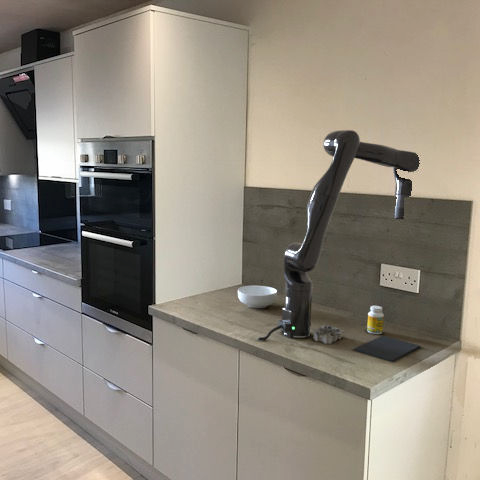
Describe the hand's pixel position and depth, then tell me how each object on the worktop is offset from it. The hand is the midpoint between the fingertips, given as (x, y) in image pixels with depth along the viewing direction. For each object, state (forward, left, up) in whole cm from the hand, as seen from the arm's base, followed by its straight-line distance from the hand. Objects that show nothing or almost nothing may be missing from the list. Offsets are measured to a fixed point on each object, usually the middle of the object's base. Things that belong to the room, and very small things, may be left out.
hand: (400, 248), depth 201 cm
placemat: (-24, -22, -29) cm, 44 cm away
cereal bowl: (-40, +37, -30) cm, 62 cm away
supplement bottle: (-16, -7, -30) cm, 34 cm away
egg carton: (-37, -8, -30) cm, 48 cm away
